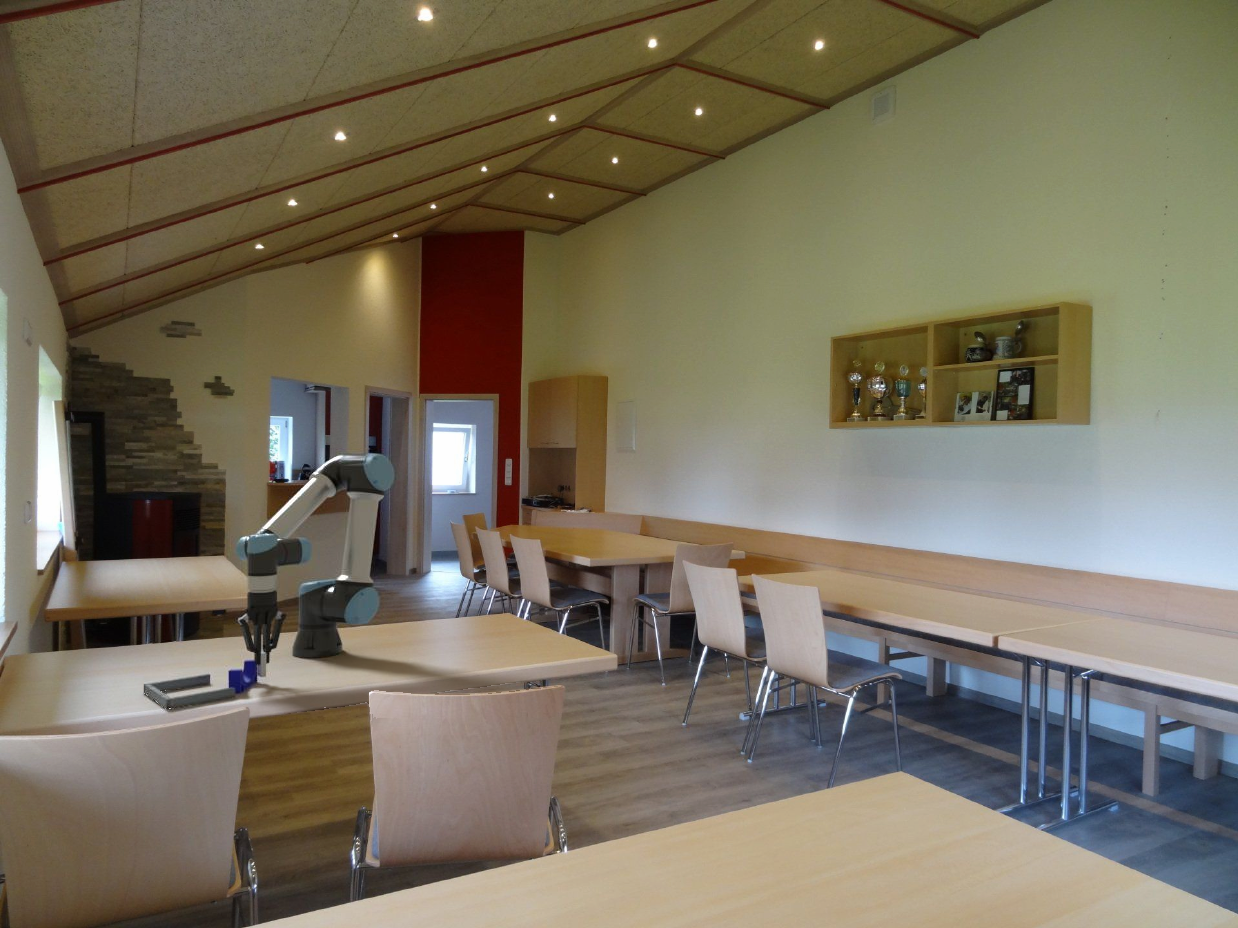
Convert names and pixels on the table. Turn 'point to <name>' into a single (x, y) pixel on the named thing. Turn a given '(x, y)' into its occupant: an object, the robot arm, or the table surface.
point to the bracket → (155, 693)
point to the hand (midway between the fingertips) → (261, 675)
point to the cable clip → (243, 676)
